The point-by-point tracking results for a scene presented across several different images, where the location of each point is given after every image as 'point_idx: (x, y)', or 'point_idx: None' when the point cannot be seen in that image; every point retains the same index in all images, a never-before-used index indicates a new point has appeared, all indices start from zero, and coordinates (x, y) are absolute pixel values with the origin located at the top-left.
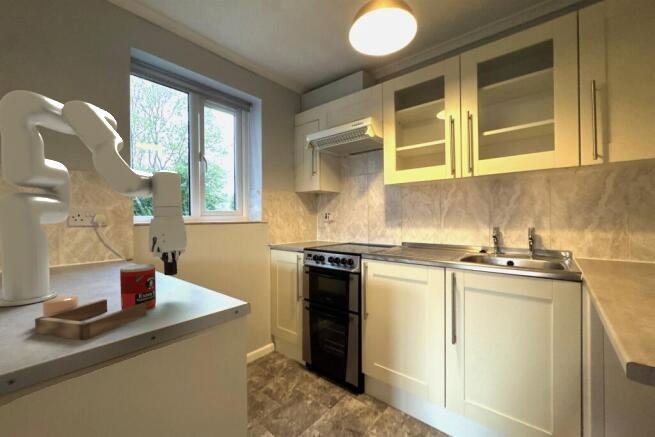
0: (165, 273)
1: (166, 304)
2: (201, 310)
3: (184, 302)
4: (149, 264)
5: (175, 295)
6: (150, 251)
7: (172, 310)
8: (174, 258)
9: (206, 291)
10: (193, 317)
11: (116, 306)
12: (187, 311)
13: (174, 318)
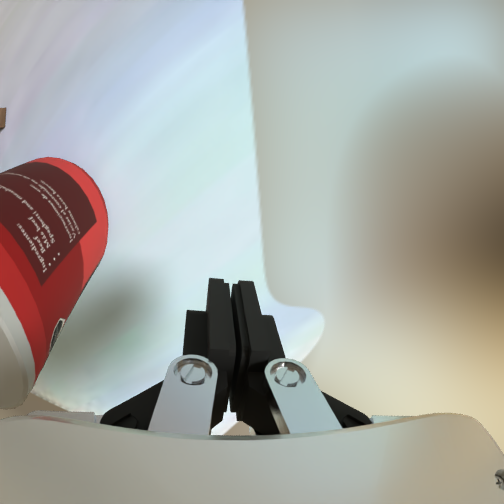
0: (208, 291)
1: (120, 295)
2: None
3: (161, 341)
4: (13, 357)
5: (249, 242)
6: (4, 426)
7: (83, 350)
8: (253, 429)
9: (318, 330)
10: (76, 410)
11: (51, 98)
12: (96, 387)
13: (50, 381)
